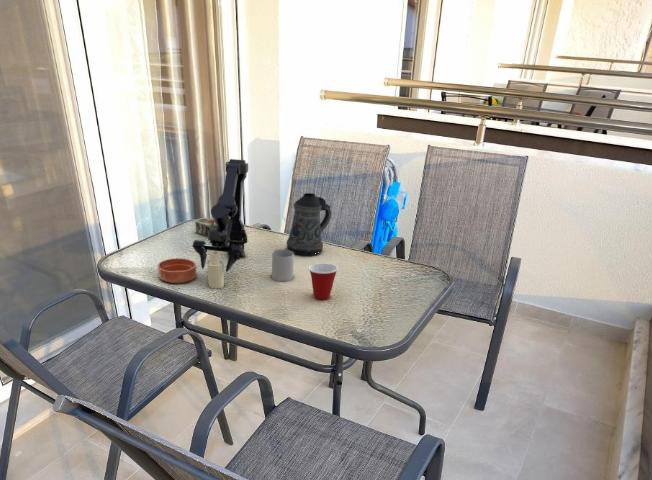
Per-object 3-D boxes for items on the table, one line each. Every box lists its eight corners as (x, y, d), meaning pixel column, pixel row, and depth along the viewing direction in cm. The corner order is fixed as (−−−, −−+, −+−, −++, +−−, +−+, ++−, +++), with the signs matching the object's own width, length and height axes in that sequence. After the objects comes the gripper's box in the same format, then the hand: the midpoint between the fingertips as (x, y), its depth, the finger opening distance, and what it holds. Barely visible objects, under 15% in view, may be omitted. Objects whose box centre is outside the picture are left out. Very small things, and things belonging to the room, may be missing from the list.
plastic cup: (321, 288, 195) (323, 259, 189) (341, 298, 189) (344, 267, 183) (300, 295, 189) (302, 265, 182) (321, 305, 182) (323, 274, 176)
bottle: (222, 282, 195) (221, 249, 188) (225, 287, 191) (223, 255, 184) (207, 283, 193) (205, 250, 186) (210, 289, 189) (208, 256, 182)
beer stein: (279, 250, 228) (280, 194, 215) (304, 240, 242) (306, 186, 229) (308, 259, 221) (312, 201, 208) (333, 248, 235) (337, 193, 222)
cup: (296, 275, 205) (297, 252, 199) (287, 282, 198) (287, 258, 193) (278, 271, 207) (278, 248, 202) (268, 278, 201) (268, 254, 196)
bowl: (193, 268, 204) (193, 257, 202) (199, 282, 193) (198, 270, 191) (157, 271, 200) (156, 259, 197) (160, 285, 189) (159, 273, 186)
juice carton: (193, 232, 242) (192, 219, 239) (208, 228, 249) (207, 215, 246) (223, 243, 233) (222, 230, 229) (238, 238, 240) (238, 225, 236)
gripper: (192, 218, 184) (183, 257, 180) (242, 223, 182) (234, 263, 179) (201, 233, 195) (192, 270, 191) (248, 238, 193) (240, 276, 189)
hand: (214, 269), depth 187 cm, fingers open, 9 cm apart
